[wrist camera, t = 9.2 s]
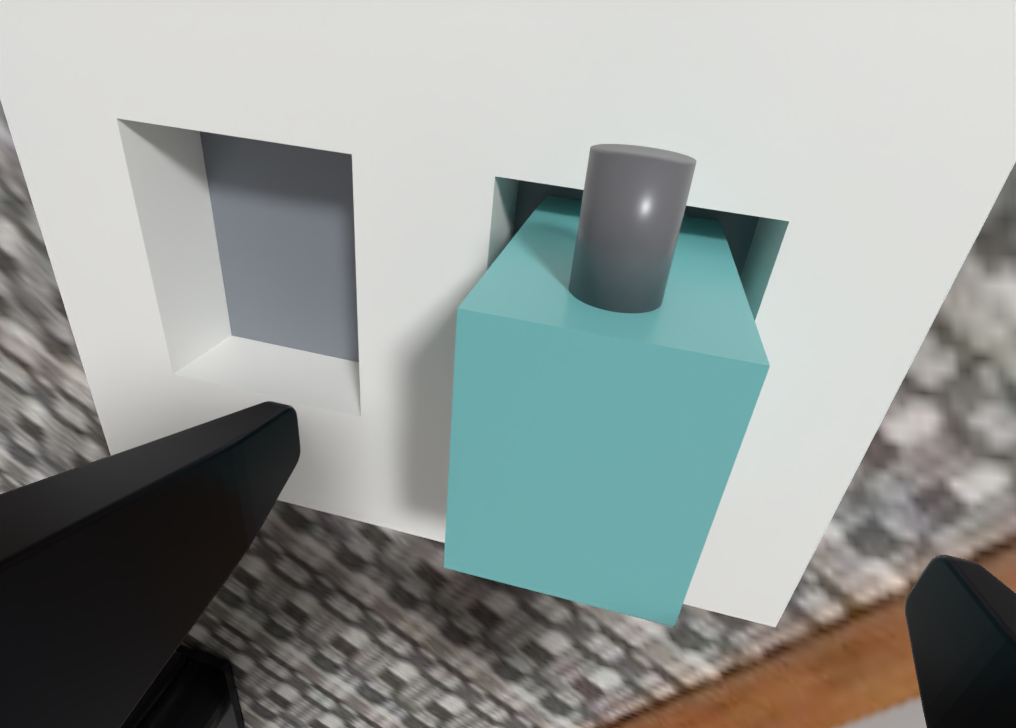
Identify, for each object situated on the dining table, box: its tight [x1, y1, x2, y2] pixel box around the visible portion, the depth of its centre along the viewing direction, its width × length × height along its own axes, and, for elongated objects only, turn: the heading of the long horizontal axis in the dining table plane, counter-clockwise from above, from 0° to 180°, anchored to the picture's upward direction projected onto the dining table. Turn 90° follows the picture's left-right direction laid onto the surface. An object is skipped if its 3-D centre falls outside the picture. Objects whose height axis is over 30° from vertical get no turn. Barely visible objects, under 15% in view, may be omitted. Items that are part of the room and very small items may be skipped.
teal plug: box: [444, 144, 770, 627], centre depth 11 cm, size 7×4×7 cm, turn 174°
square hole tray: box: [0, 0, 1016, 627], centre depth 15 cm, size 14×20×4 cm
